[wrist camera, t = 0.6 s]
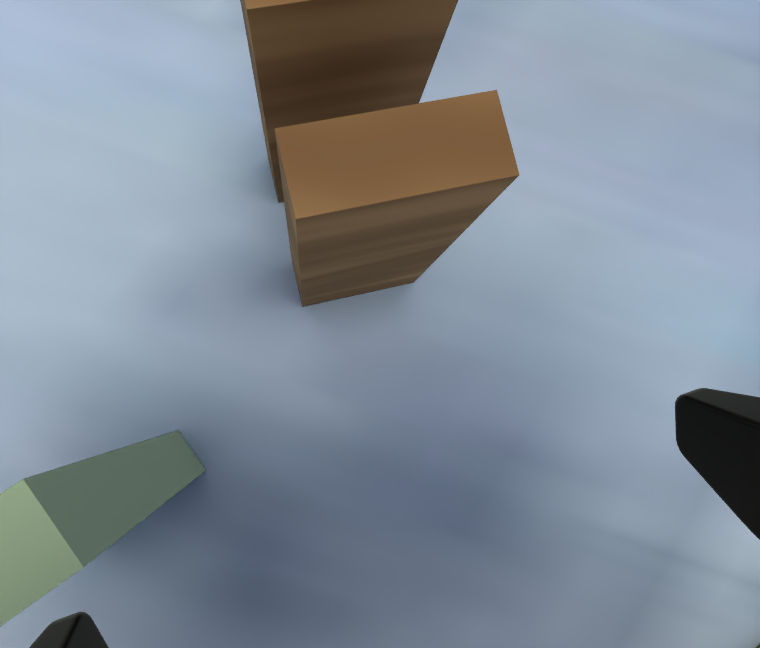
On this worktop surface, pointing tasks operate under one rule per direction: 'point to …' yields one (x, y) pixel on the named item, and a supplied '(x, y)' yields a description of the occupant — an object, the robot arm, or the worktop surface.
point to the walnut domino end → (339, 58)
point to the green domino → (83, 513)
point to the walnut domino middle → (388, 190)
